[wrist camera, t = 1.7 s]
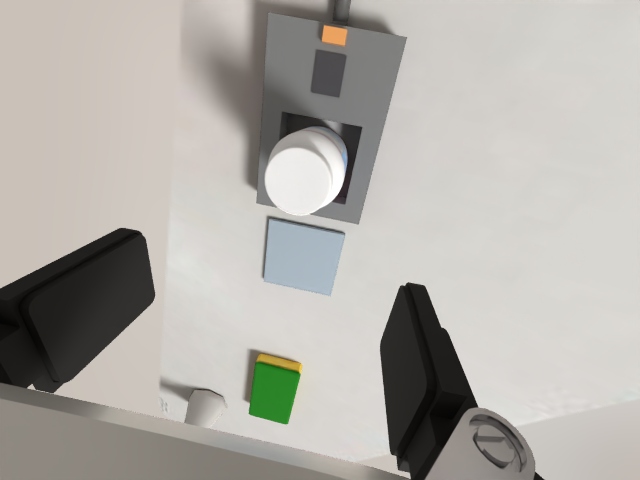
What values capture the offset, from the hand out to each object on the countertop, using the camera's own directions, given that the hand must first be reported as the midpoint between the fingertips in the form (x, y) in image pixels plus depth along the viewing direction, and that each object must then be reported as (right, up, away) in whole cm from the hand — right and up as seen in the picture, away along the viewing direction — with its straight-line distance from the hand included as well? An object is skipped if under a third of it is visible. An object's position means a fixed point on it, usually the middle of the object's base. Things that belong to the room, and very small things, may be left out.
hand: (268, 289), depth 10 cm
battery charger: (+3, +16, +15) cm, 22 cm away
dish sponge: (-6, -23, +36) cm, 43 cm away
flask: (-19, -28, +40) cm, 53 cm away
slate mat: (0, 0, +24) cm, 24 cm away
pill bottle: (+2, +11, +18) cm, 21 cm away
